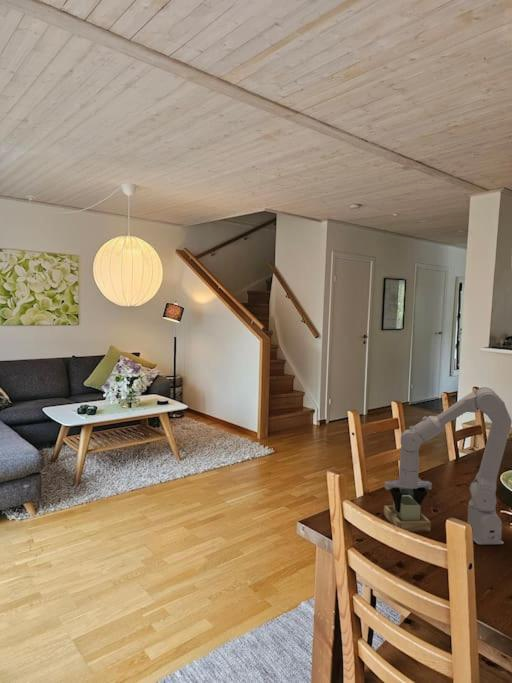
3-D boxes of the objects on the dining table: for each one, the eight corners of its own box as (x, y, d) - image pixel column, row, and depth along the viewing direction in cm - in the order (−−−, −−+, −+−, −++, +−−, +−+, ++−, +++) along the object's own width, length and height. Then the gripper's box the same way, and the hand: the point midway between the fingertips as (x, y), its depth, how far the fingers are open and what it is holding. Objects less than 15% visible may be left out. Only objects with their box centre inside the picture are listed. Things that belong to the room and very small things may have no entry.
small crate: (419, 521, 139) (420, 505, 139) (402, 522, 139) (403, 506, 138) (409, 510, 147) (409, 495, 147) (393, 510, 147) (393, 495, 146)
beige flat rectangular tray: (430, 531, 137) (431, 522, 137) (398, 532, 136) (399, 522, 136) (413, 514, 149) (413, 505, 149) (383, 514, 148) (384, 505, 148)
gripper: (425, 464, 146) (423, 505, 147) (381, 464, 145) (379, 505, 146) (435, 471, 139) (433, 514, 140) (390, 472, 138) (388, 515, 139)
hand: (406, 511), depth 143 cm, fingers closed on small crate, 5 cm apart
